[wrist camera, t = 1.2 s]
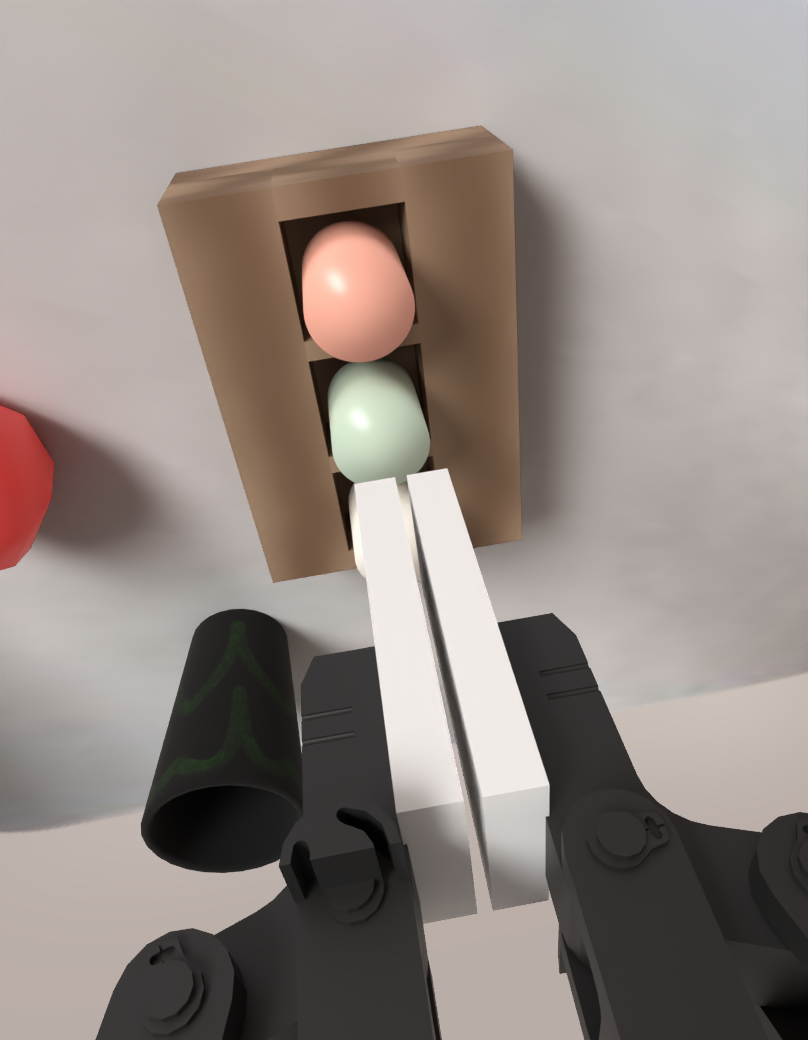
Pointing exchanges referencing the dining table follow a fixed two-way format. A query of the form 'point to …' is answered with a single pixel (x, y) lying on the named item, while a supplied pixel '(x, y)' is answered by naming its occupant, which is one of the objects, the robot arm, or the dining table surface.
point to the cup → (229, 751)
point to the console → (309, 369)
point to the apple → (21, 486)
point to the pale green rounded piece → (376, 422)
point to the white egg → (409, 526)
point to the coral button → (355, 292)
